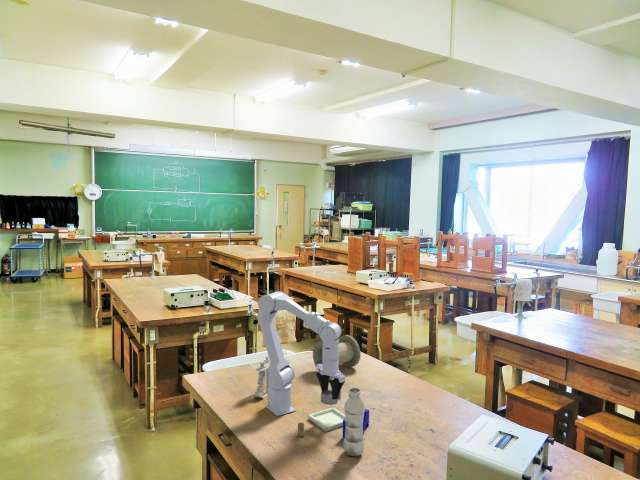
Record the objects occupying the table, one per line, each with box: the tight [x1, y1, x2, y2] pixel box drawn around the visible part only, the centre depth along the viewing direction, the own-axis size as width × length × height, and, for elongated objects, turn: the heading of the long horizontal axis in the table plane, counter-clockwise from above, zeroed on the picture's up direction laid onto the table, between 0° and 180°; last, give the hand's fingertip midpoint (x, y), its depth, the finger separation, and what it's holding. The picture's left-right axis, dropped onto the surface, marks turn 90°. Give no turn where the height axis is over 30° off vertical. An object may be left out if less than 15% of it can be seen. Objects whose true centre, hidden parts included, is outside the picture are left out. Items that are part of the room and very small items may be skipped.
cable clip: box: [342, 408, 370, 439], centre depth 150 cm, size 12×4×6 cm, turn 143°
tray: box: [307, 407, 345, 432], centre depth 157 cm, size 11×11×2 cm
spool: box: [312, 334, 361, 368], centre depth 207 cm, size 16×15×15 cm
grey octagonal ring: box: [320, 389, 342, 406], centre depth 157 cm, size 6×7×3 cm
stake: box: [297, 422, 305, 438], centre depth 147 cm, size 2×2×4 cm
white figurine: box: [251, 356, 270, 399], centre depth 177 cm, size 4×10×15 cm, turn 163°
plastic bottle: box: [343, 387, 366, 457], centre depth 136 cm, size 6×7×20 cm
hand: (330, 395), depth 157 cm, fingers closed on grey octagonal ring, 6 cm apart
